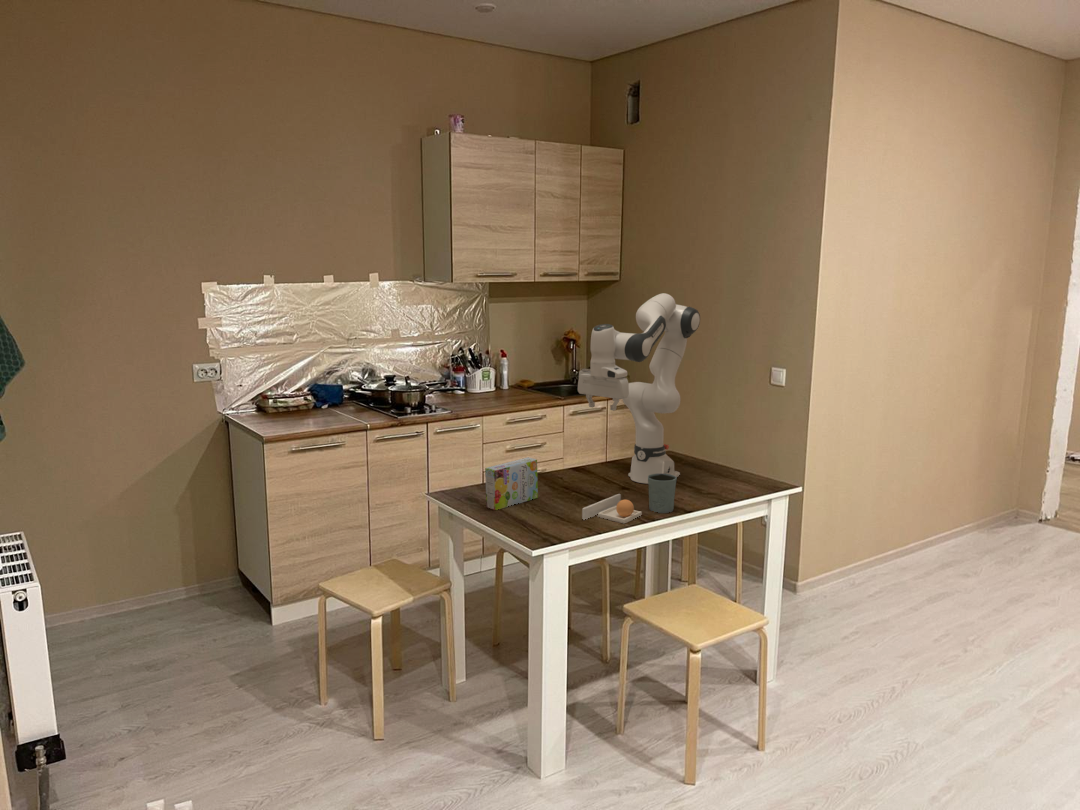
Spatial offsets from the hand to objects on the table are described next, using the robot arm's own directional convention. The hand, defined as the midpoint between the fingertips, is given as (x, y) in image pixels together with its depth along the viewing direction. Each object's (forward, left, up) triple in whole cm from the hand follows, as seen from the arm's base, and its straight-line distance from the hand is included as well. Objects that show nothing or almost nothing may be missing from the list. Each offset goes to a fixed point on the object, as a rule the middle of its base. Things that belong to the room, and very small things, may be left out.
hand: (602, 408), depth 290 cm
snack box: (+22, -24, -35) cm, 48 cm away
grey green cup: (-6, +22, -35) cm, 42 cm away
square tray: (+10, +15, -35) cm, 39 cm away
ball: (+10, +17, -31) cm, 37 cm away
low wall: (+10, +7, -35) cm, 37 cm away
